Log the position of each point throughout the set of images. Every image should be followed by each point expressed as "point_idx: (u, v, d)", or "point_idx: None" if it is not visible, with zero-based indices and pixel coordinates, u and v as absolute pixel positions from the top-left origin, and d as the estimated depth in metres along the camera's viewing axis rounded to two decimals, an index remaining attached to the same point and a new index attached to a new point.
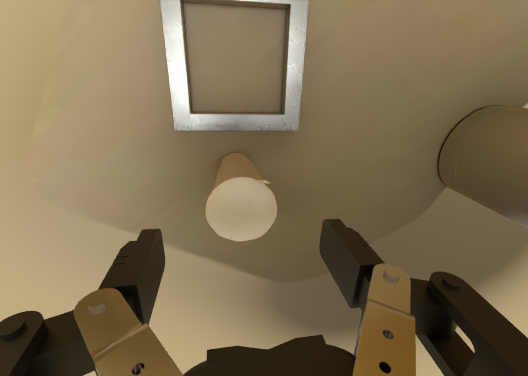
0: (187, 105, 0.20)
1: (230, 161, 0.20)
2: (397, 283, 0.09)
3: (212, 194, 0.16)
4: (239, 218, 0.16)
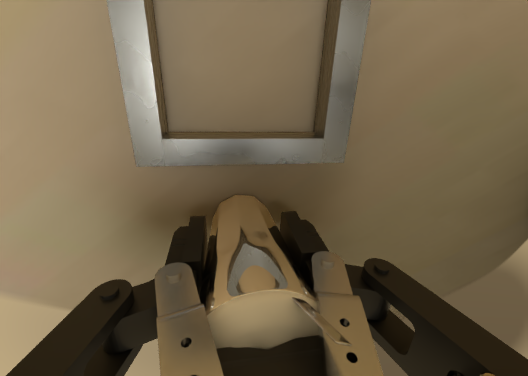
0: (156, 124, 0.11)
1: (233, 219, 0.12)
2: (330, 268, 0.09)
3: None
4: None
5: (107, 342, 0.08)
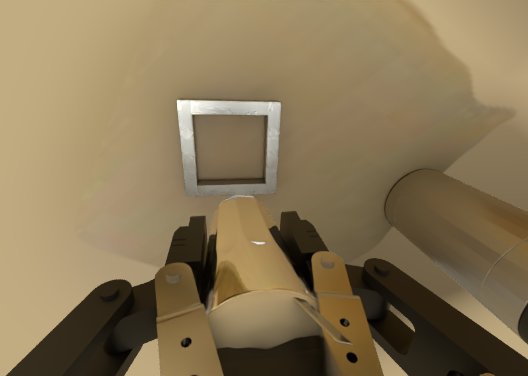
0: (195, 180, 0.27)
1: (233, 219, 0.12)
2: (330, 268, 0.09)
3: None
4: None
5: (107, 342, 0.08)
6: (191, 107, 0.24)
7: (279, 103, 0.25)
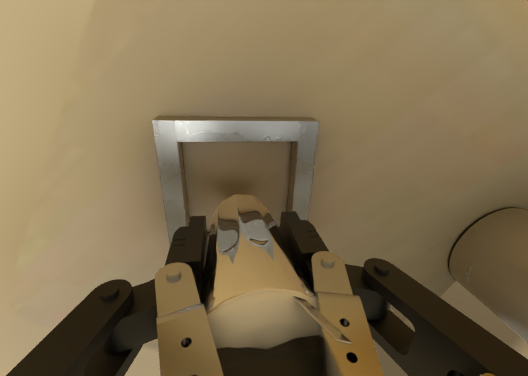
0: None
1: (233, 219, 0.12)
2: (330, 268, 0.09)
3: None
4: None
5: (107, 342, 0.08)
6: (176, 131, 0.15)
7: (316, 123, 0.16)
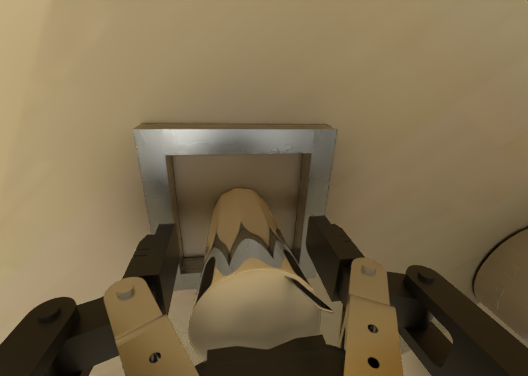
0: None
1: (233, 209, 0.13)
2: (373, 276, 0.09)
3: (203, 303, 0.08)
4: None
5: (52, 367, 0.07)
6: (164, 142, 0.12)
7: (334, 132, 0.13)
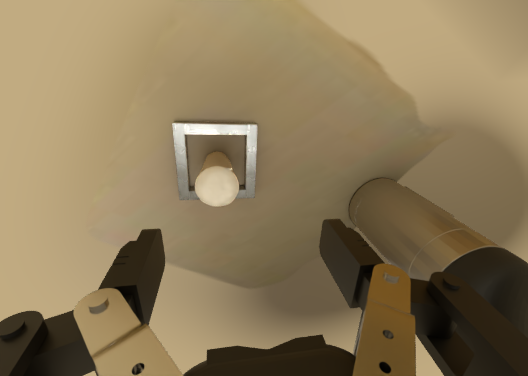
0: (187, 186, 0.33)
1: (212, 157, 0.31)
2: (397, 283, 0.09)
3: (199, 175, 0.26)
4: (215, 190, 0.26)
5: None
6: (184, 129, 0.30)
7: (256, 126, 0.31)
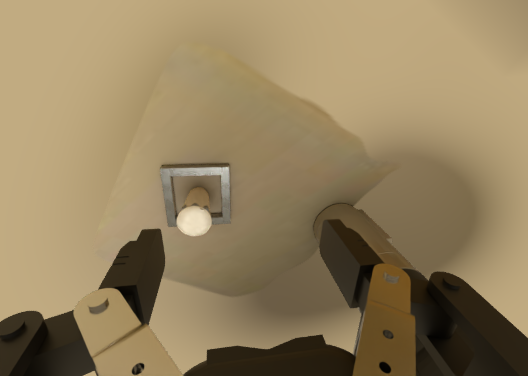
0: (174, 216, 0.41)
1: (192, 194, 0.38)
2: (397, 283, 0.09)
3: (179, 213, 0.33)
4: (191, 225, 0.33)
5: None
6: (169, 172, 0.38)
7: (228, 168, 0.39)
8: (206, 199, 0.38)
